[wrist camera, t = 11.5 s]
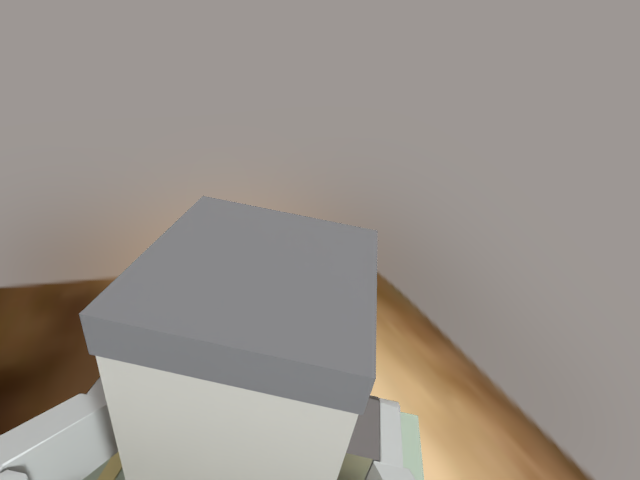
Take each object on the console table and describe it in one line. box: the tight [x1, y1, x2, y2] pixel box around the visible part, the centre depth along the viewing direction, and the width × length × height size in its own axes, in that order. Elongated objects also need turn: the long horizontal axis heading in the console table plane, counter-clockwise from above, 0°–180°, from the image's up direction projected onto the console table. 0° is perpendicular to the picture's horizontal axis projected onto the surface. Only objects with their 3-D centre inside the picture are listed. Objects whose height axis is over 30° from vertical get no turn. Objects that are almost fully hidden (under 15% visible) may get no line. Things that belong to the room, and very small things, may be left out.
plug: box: [79, 196, 377, 480], centre depth 10 cm, size 4×5×12 cm
